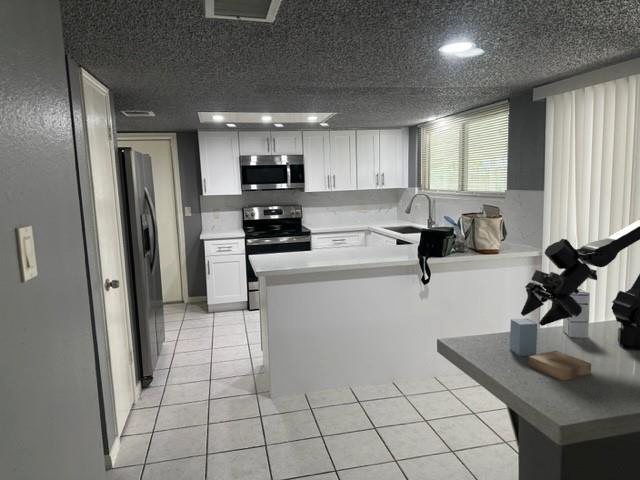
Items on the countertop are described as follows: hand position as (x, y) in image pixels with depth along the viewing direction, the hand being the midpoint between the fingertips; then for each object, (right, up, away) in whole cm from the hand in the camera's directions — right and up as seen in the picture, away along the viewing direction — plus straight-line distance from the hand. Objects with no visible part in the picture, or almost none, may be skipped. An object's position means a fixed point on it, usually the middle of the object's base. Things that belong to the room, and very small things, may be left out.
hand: (530, 319), depth 124 cm
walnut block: (+2, -11, -11) cm, 16 cm away
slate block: (-2, -9, +1) cm, 10 cm away
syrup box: (+21, -8, +14) cm, 26 cm away
